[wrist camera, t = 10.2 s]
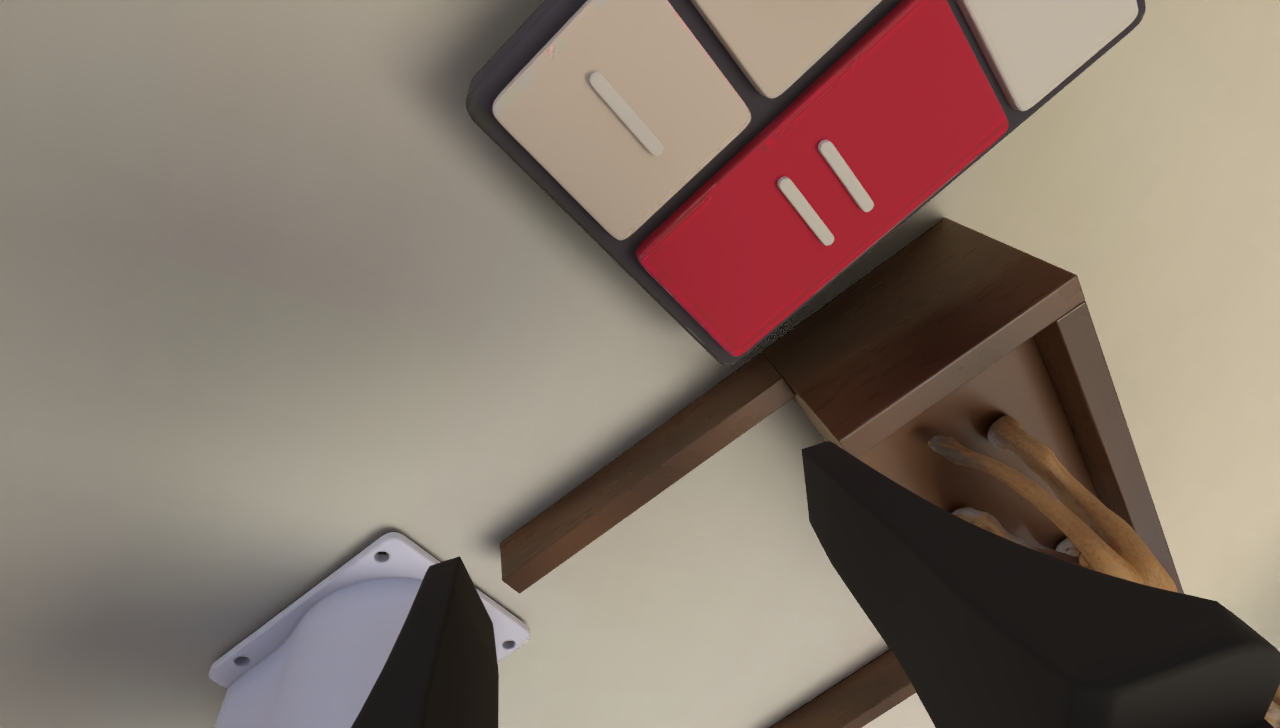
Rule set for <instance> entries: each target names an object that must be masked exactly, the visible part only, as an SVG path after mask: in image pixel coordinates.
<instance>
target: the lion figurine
mask: <svg viewBox="0 0 1280 728" xmlns="http://www.w3.org/2000/svg"><path fill="white" fill-rule="evenodd" d="M988 440H989V441H990V443H991V444H992V445H993V446H994V447H996V448H997V449H999V450H1001V451H1007V450H1011V451H1012V452H1014V453H1015V454H1016V455H1017V456H1018V457H1019V458H1020V459H1021V460H1022V461H1023V462H1024V464H1025V465H1026V466H1027V467H1028V468H1029V469H1030V470H1032V471H1033V472H1034V473H1036V474H1037V475H1038V476H1039V477H1040V478H1041V479H1042V480H1043V481H1044V482H1045V483H1046V484H1047V485H1048V486H1049V487H1050V488H1051V489H1052V490H1053V492H1054V493H1055V495H1056V497H1057V498H1058V500H1059V501H1058V500H1057V499H1056V498H1055V497H1054V496H1052V495H1051V494H1050V493H1048V492H1047V491H1046V490H1045V489H1043V488H1042V487H1041V486H1039V485H1038V484H1037V483H1036V482H1034V481H1033V480H1031V479H1030V478H1028V477H1027V476H1025V475H1024V474H1022V473H1020V472H1019V471H1017V470H1015V469H1013V468H1011V467H1009V466H1007V465H1005V464H1003V463H1001V462H999V461H997V460H995V459H993V458H990V457H988V456H986V455H983V454H980V453H977V452H975V451H972V450H970V449H968V448H966V447H964V446H963V445H961V444H960V443H959V442H958V441H956V440H955V439H954V438H953V437H944V436H941V435H937V436H933V437H932V438H930V440H929V441H928V446H929V447H930V448H931V449H932V450H933V451H934V452H936V453H938V454H940V455H942V456H943V457H945V458H946V459H948V460H949V461H951V462H952V463H954V464H958V465H965V466H968V467H971V468H975V469H978V470H980V471H982V472H985V473H987V474H989V475H991V476H993V477H995V478H997V479H998V480H1000V481H1002V482H1003V483H1005V484H1006V485H1008V486H1009V487H1011V488H1012V489H1013V490H1015V491H1016V492H1017V493H1019V494H1020V495H1021V496H1023V497H1024V498H1025V499H1026V500H1028V501H1029V502H1030V503H1032V504H1033V505H1034V506H1035V507H1036V508H1037V509H1038V510H1040V511H1041V512H1042V513H1043V514H1044V515H1045V516H1047V517H1048V518H1049V519H1050V520H1051V521H1052V522H1053V523H1054V524H1055V525H1056V526H1057V527H1058V528H1059V529H1060V530H1061V531H1062V532H1063V533H1064V534H1065V535H1066V536H1067V538H1066V539H1064V540H1063V541H1062V542H1061V543H1059V544H1058V545H1057V547H1056V551H1055V550H1052V549H1046V548H1042V547H1038V546H1035V545H1032V544H1030V543H1028V542H1027V541H1025V540H1023V539H1020V538H1018V537H1015V536H1013V535H1011V534H1009V533H1008V532H1007V531H1006V530H1005V529H1004V528H1003V527H1002V526H1001V524H1000V522H999V521H998V520H997V519H996V518H995V517H994V516H993V515H991V514H989V513H987V512H982V511H979V510H975V509H974V508H971V507H965V508H960V509H957V510H955V511H954V512H953V513H951V514H953V515H955V516H957V517H959V518H961V519H963V520H965V521H967V522H969V523H972V524H974V525H976V526H978V527H980V528H982V529H985V530H987V531H989V532H992V533H994V534H996V535H999V536H1001V537H1003V538H1006V539H1008V540H1010V541H1013V542H1015V543H1017V544H1020V545H1023V546H1025V547H1028V548H1030V549H1033V550H1035V551H1038V552H1041V553H1044V554H1047V555H1050V556H1052V557H1055V558H1058V559H1061V560H1064V561H1066V562H1069V563H1072V564H1075V565H1078V566H1082V567H1085V568H1088V569H1091V570H1094V571H1097V572H1101V573H1104V574H1108V575H1111V576H1115V577H1118V578H1122V579H1125V580H1129V581H1132V582H1136V583H1139V584H1143V585H1147V586H1151V587H1156V588H1160V589H1164V590H1169V591H1173V592H1177V593H1178V590H1177V587H1176V585H1175V583H1174V581H1173V580H1172V578H1171V577H1170V576H1169V574H1168V573H1167V572H1166V570H1165V569H1164V568H1163V567H1162V565H1161V564H1160V563H1159V561H1158V560H1157V559H1156V557H1155V556H1154V555H1153V553H1152V552H1151V551H1150V549H1149V548H1148V547H1147V546H1146V544H1145V543H1144V542H1143V541H1142V540H1141V538H1140V537H1139V536H1138V535H1137V533H1136V532H1135V531H1134V530H1133V529H1132V527H1131V526H1130V525H1129V524H1128V523H1127V522H1126V521H1125V520H1123V519H1122V518H1121V517H1120V516H1118V515H1117V514H1115V513H1114V512H1112V511H1111V510H1110V509H1108V508H1107V507H1106V506H1105V505H1104V504H1103V503H1102V502H1100V501H1099V500H1098V499H1097V498H1096V497H1095V496H1094V495H1093V494H1092V493H1091V492H1089V491H1088V490H1087V489H1086V488H1085V487H1084V486H1083V485H1082V484H1081V483H1079V482H1078V481H1077V480H1076V479H1075V478H1074V477H1073V476H1072V475H1071V474H1070V473H1069V472H1068V471H1067V470H1066V469H1065V467H1064V466H1063V465H1062V464H1061V463H1060V462H1059V461H1058V459H1057V458H1056V456H1055V454H1054V453H1053V451H1052V450H1051V449H1049V448H1048V447H1047V446H1046V445H1044V444H1043V443H1041V442H1039V441H1037V440H1036V439H1034V438H1032V437H1031V436H1030V435H1028V434H1027V433H1026V432H1025V431H1024V430H1023V427H1022V425H1021V424H1020V423H1019V422H1018V421H1017V420H1015V419H1014V418H1013V417H1011V416H1003V417H1001V418H999V419H998V420H997V421H996V422H994V423H993V424H992V425H991V427H990V428H989V431H988ZM1264 719H1265V720H1266V721H1268V722H1269V723H1270V724H1271V725H1272V726H1273V727H1274V728H1280V685H1279V687H1278V689H1277V692H1276V694H1275V696H1274V698H1273V700H1272V702H1271V705H1270V707H1269V709H1268V711H1267V713H1266V715H1265V718H1264Z"/></svg>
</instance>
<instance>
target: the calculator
mask: <svg viewBox="0 0 1280 728" xmlns="http://www.w3.org/2000/svg"><path fill="white" fill-rule="evenodd" d="M1144 13H1145V1H1144V0H545V1H544V2H543V3H542V4H541V5H540V6H539V7H538V9H537V10H536V11H535V12H534V13H533V14H532V15H531V16H530V17H529V18H528V19H527V20H526V22H525V23H524V24H523V25H522V26H521V27H520V28H519V29H518V30H517V31H516V32H515V33H514V34H513V36H512V37H511V38H510V39H509V40H508V41H507V42H506V43H505V44H504V45H503V46H502V47H501V49H500V50H499V51H498V52H497V53H496V54H495V55H494V56H493V57H492V58H491V59H490V60H489V61H488V63H487V64H486V65H485V66H484V67H483V68H482V69H481V70H480V71H479V72H478V73H477V75H476V76H475V77H474V78H473V80H472V82H471V84H470V87H469V91H468V94H467V98H466V108H467V111H468V114H469V115H470V117H471V118H472V119H473V121H474V122H475V123H476V124H477V125H478V126H479V127H480V128H481V129H482V130H483V131H484V132H485V133H486V134H487V135H488V136H489V137H490V138H491V139H492V140H493V141H494V142H495V143H496V144H497V145H498V146H499V147H500V148H502V149H503V150H504V151H505V152H506V153H507V154H508V155H509V156H510V157H511V158H512V159H513V160H514V161H515V162H516V163H517V164H518V165H519V166H520V167H521V168H522V169H523V170H524V171H525V172H526V173H527V174H528V175H529V176H530V177H531V178H532V179H533V180H534V181H535V182H536V183H537V184H538V185H539V186H540V187H541V188H542V189H543V190H544V191H545V192H546V193H547V194H548V195H549V196H550V197H551V198H552V199H553V200H554V201H555V202H556V203H557V204H558V205H559V206H560V207H561V208H562V209H563V210H564V211H565V212H566V213H568V214H569V215H570V216H571V217H572V218H573V219H574V220H575V221H576V222H577V223H578V224H579V225H580V226H581V227H582V228H583V229H584V230H585V231H586V232H587V233H588V234H589V235H590V236H591V237H592V238H593V239H594V240H595V241H596V242H597V243H598V244H599V245H600V246H601V247H602V248H603V249H604V250H605V251H606V252H607V253H608V254H609V255H610V256H611V257H612V258H613V259H614V260H615V261H616V262H617V263H618V264H619V265H620V266H621V267H622V268H623V269H624V270H625V271H626V272H627V273H628V274H629V275H630V276H631V277H633V278H634V279H635V280H636V281H637V282H638V283H639V284H640V285H641V286H642V287H643V288H644V289H645V290H646V291H647V292H648V293H649V294H650V295H651V296H652V297H653V298H654V299H655V300H656V301H657V302H658V303H659V304H660V305H661V306H662V307H663V308H664V309H665V310H666V311H667V312H668V313H669V314H670V315H671V316H672V317H673V318H674V319H675V320H676V321H677V322H678V323H679V324H680V325H681V326H682V327H683V328H684V329H685V330H686V331H687V332H688V333H689V334H690V335H691V336H692V337H693V338H694V339H695V340H696V341H698V342H699V343H700V344H701V345H702V346H703V347H704V348H705V349H706V350H707V351H708V352H709V353H710V354H711V355H712V356H713V357H714V358H715V359H716V360H717V361H718V362H719V363H721V364H724V365H732V364H734V363H736V362H738V361H739V360H740V359H742V358H743V357H744V356H745V355H746V354H748V353H749V352H750V351H751V350H752V349H754V348H755V347H756V346H757V345H758V344H760V343H761V342H762V341H763V340H764V339H766V338H767V337H768V336H769V335H770V334H771V333H773V332H774V331H775V330H776V329H777V328H779V327H780V326H781V325H782V324H783V323H785V322H786V321H787V320H788V319H789V318H790V317H792V316H793V315H794V314H795V313H796V312H798V311H799V310H800V309H801V308H802V307H804V306H805V305H806V304H807V303H808V302H810V301H811V300H812V299H813V298H814V297H815V296H817V295H818V294H819V293H820V292H821V291H823V290H824V289H825V288H826V287H827V286H829V285H830V284H831V283H832V282H833V281H835V280H836V279H837V278H838V277H839V276H840V275H842V274H843V273H844V272H845V271H846V270H848V269H849V268H850V267H851V266H852V265H854V264H855V263H856V262H857V261H858V260H859V259H861V258H862V257H863V256H864V255H865V254H867V253H868V252H869V251H870V250H871V249H873V248H874V247H875V246H876V245H877V244H879V243H880V242H881V241H882V240H883V239H884V238H886V237H887V236H888V235H889V234H890V233H892V232H893V231H894V230H895V229H896V228H898V227H899V226H900V225H901V224H902V223H904V222H905V221H906V220H907V219H908V218H909V217H911V216H912V215H913V214H914V213H915V212H917V211H918V210H919V209H920V208H921V207H923V206H924V205H925V204H926V203H927V202H928V201H930V200H931V199H932V198H933V197H934V196H936V195H937V194H938V193H939V192H940V191H942V190H943V189H944V188H945V187H946V186H948V185H949V184H950V183H951V182H952V181H953V180H955V179H956V178H957V177H958V176H959V175H961V174H962V173H963V172H964V171H965V170H967V169H968V168H969V167H970V166H971V165H973V164H974V163H975V162H976V161H977V160H978V159H980V158H981V157H982V156H983V155H984V154H986V153H987V152H988V151H989V150H990V149H992V148H993V147H994V146H995V145H996V144H997V143H999V142H1000V141H1001V140H1002V139H1003V138H1005V137H1006V136H1007V135H1008V134H1009V133H1011V132H1012V131H1013V130H1014V129H1015V128H1017V127H1018V126H1019V125H1020V124H1021V123H1022V122H1024V121H1025V120H1026V119H1027V118H1028V117H1030V116H1031V115H1032V114H1033V113H1034V112H1036V111H1037V110H1038V109H1039V108H1040V107H1042V106H1043V105H1044V104H1045V103H1046V102H1047V101H1049V100H1050V99H1051V98H1052V97H1053V96H1055V95H1056V94H1057V93H1058V92H1059V91H1061V90H1062V89H1063V88H1064V87H1065V86H1066V85H1068V84H1069V83H1070V82H1071V81H1072V80H1074V79H1075V78H1076V77H1077V76H1078V75H1080V74H1081V73H1082V72H1083V71H1084V70H1086V69H1087V68H1088V67H1089V66H1090V65H1091V64H1093V63H1094V62H1095V61H1096V60H1097V59H1099V58H1100V57H1101V56H1102V55H1103V54H1105V53H1106V52H1107V51H1108V50H1109V49H1111V48H1112V47H1113V46H1114V45H1115V44H1116V43H1118V42H1119V41H1120V40H1121V39H1122V38H1124V37H1125V36H1126V35H1127V34H1128V33H1129V32H1131V31H1132V30H1133V29H1134V28H1135V27H1136V26H1137V25H1138V24H1139V23H1140V21H1141V20H1142V18H1143V16H1144Z"/></svg>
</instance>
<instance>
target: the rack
mask: <svg viewBox="0 0 1280 728" xmlns="http://www.w3.org/2000/svg"><path fill="white" fill-rule="evenodd" d="M1084 300H1085V298H1084V295H1083V292H1082V289H1081V286H1080V283H1079V280H1078V277H1077V275H1075V274H1073V273H1071V272H1068V271H1066V270H1064V269H1061V268H1059V267H1057V266H1055V265H1052V264H1050V263H1048V262H1045V261H1043V260H1041V259H1039V258H1036V257H1034V256H1032V255H1029V254H1027V253H1025V252H1023V251H1020V250H1018V249H1016V248H1013V247H1011V246H1009V245H1006V244H1004V243H1002V242H1000V241H997V240H995V239H993V238H990V237H988V236H986V235H984V234H981V233H979V232H977V231H974V230H972V229H970V228H968V227H965V226H963V225H961V224H958V223H956V222H954V221H952V220H949V219H947V218H945V219H944V220H942V221H941V222H939V223H938V224H937V225H935V226H934V227H933V228H931V229H930V230H929V231H927V232H926V233H924V234H923V235H922V236H920V237H919V238H918V239H916V240H915V241H913V242H912V243H911V244H909V245H908V246H907V247H905V248H904V249H902V250H901V251H900V252H898V253H897V254H896V255H894V256H893V257H892V258H890V259H889V260H887V261H886V262H885V263H883V264H882V265H881V266H879V267H878V268H876V269H875V270H874V271H872V272H871V273H870V274H868V275H867V276H866V277H864V278H863V279H861V280H860V281H859V282H857V283H856V284H855V285H853V286H852V287H850V288H849V289H848V290H846V291H845V292H844V293H842V294H841V295H840V296H838V297H837V298H835V299H834V300H833V301H831V302H830V303H829V304H827V305H826V306H824V307H823V308H822V309H820V310H819V311H818V312H816V313H815V314H814V315H812V316H811V317H809V318H808V319H807V320H805V321H804V322H803V323H801V324H800V325H798V326H797V327H796V328H794V329H793V330H792V331H790V332H789V333H787V334H786V335H785V336H783V337H782V338H781V339H779V340H778V341H777V342H775V343H774V344H772V345H771V346H770V347H768V348H767V349H766V350H764V351H763V353H760V354H759V355H757V356H756V357H755V358H753V359H752V360H751V361H749V362H748V363H746V364H745V365H744V366H742V367H741V368H740V369H738V370H737V371H735V372H734V373H733V374H731V375H730V376H729V377H727V378H726V379H724V380H723V381H722V382H720V383H719V384H718V385H716V386H715V387H714V388H712V389H711V390H709V391H708V392H707V393H705V394H704V395H703V396H701V397H700V398H698V399H697V400H696V401H694V402H693V403H692V404H690V405H689V406H688V407H686V408H685V409H683V410H682V411H681V412H679V413H678V414H677V415H675V416H674V417H672V418H671V419H670V420H668V421H667V422H666V423H664V424H663V425H662V426H660V427H659V428H657V429H656V430H655V431H653V432H652V433H651V434H649V435H648V436H646V437H645V438H644V439H642V440H641V441H640V442H638V443H637V444H636V445H634V446H633V447H631V448H630V449H629V450H627V451H626V452H625V453H623V454H622V455H620V456H619V457H618V458H616V459H615V460H614V461H612V462H611V463H609V464H608V465H607V466H605V467H604V468H603V469H601V470H600V471H599V472H597V473H596V474H594V475H593V476H592V477H590V478H589V479H588V480H586V481H585V482H583V483H582V484H581V485H579V486H578V487H577V488H575V489H574V490H573V491H571V492H570V493H568V494H567V495H566V496H564V497H563V498H562V499H560V500H559V501H557V502H556V503H555V504H553V505H552V506H551V507H549V508H548V509H547V510H545V511H544V512H542V513H541V514H540V515H538V516H537V517H536V518H534V519H533V520H531V521H530V522H529V523H527V524H526V525H525V526H523V527H522V528H521V529H519V530H518V531H516V532H515V533H514V534H512V535H511V536H510V537H508V538H507V539H505V540H504V541H503V542H501V543H500V549H501V568H502V581H504V582H505V583H506V584H508V585H509V586H510V587H511V588H513V589H514V590H515V591H517V592H518V593H521V592H523V591H524V590H525V589H527V588H528V587H530V586H531V585H532V584H534V583H535V582H537V581H538V580H539V579H541V578H542V577H544V576H545V575H546V574H548V573H549V572H551V571H552V570H553V569H555V568H556V567H557V566H559V565H560V564H562V563H563V562H564V561H566V560H567V559H569V558H570V557H571V556H573V555H574V554H576V553H577V552H578V551H580V550H581V549H583V548H584V547H585V546H587V545H588V544H590V543H591V542H592V541H594V540H595V539H597V538H598V537H599V536H601V535H602V534H604V533H605V532H606V531H608V530H609V529H611V528H612V527H613V526H615V525H616V524H618V523H619V522H620V521H622V520H623V519H624V518H626V517H627V516H629V515H630V514H631V513H633V512H634V511H636V510H637V509H638V508H640V507H641V506H643V505H644V504H645V503H647V502H648V501H650V500H651V499H652V498H654V497H655V496H657V495H658V494H659V493H661V492H662V491H664V490H665V489H666V488H668V487H669V486H671V485H672V484H673V483H675V482H676V481H678V480H679V479H680V478H682V477H683V476H685V475H686V474H687V473H689V472H690V471H691V470H693V469H694V468H696V467H697V466H698V465H700V464H701V463H703V462H704V461H705V460H707V459H708V458H710V457H711V456H712V455H714V454H715V453H717V452H718V451H719V450H721V449H722V448H724V447H725V446H726V445H728V444H729V443H731V442H732V441H733V440H735V439H736V438H738V437H739V436H740V435H742V434H743V433H745V432H746V431H747V430H749V429H750V428H752V427H753V426H754V425H756V424H757V423H758V422H760V421H761V420H763V419H764V418H765V417H767V416H768V415H770V414H771V413H772V412H774V411H775V410H777V409H778V408H779V407H781V406H782V405H784V404H785V403H786V402H788V401H789V400H791V399H792V398H793V397H794V398H795V399H796V401H797V402H798V404H799V405H800V406H801V408H802V409H803V411H804V412H805V413H806V415H807V416H808V418H809V419H810V421H811V422H812V423H813V425H814V426H815V428H816V429H817V430H818V432H819V433H820V435H821V436H822V437H823V439H824V440H825V442H827V441H831V442H833V443H834V444H836V445H838V446H839V447H841V448H842V449H844V450H845V451H847V452H848V453H850V454H851V455H853V456H855V457H856V458H858V459H859V460H861V461H862V462H864V463H865V464H867V465H869V466H870V467H872V468H873V469H875V470H877V471H878V472H880V473H881V474H883V475H884V476H886V477H888V478H889V479H891V480H893V481H894V482H896V483H898V484H899V485H901V486H903V487H905V488H906V489H908V490H910V491H911V492H913V493H915V494H917V495H918V496H920V497H922V498H923V499H925V500H927V501H929V502H931V503H933V504H934V505H936V506H938V507H940V508H942V509H944V510H946V511H948V512H950V513H953V512H954V511H955V510H957V509H960V508H965V507H971V508H974V509H975V510H979V511H982V512H987V513H989V514H991V515H993V516H994V517H995V518H996V519H997V520H998V521H999V522H1000V524H1001V526H1002V527H1003V528H1004V529H1005V530H1006V531H1007V532H1008V533H1009V534H1011V535H1013V536H1015V537H1018V538H1020V539H1023V540H1025V541H1027V542H1028V543H1030V544H1032V545H1035V546H1038V547H1042V548H1046V549H1052V550H1055V551H1056V547H1057V545H1058V544H1059V543H1061V542H1062V541H1063V540H1064V539H1066V538H1067V536H1066V535H1065V534H1064V533H1063V532H1062V531H1061V530H1060V529H1059V528H1058V527H1057V526H1056V525H1055V524H1054V523H1053V522H1052V521H1051V520H1050V519H1049V518H1048V517H1047V516H1045V515H1044V514H1043V513H1042V512H1041V511H1040V510H1038V509H1037V508H1036V507H1035V506H1034V505H1033V504H1032V503H1030V502H1029V501H1028V500H1026V499H1025V498H1024V497H1023V496H1021V495H1020V494H1019V493H1017V492H1016V491H1015V490H1013V489H1012V488H1011V487H1009V486H1008V485H1006V484H1005V483H1003V482H1002V481H1000V480H998V479H997V478H995V477H993V476H991V475H989V474H987V473H985V472H982V471H980V470H978V469H975V468H971V467H968V466H965V465H958V464H954V463H952V462H951V461H949V460H948V459H946V458H945V457H943V456H942V455H940V454H938V453H936V452H934V451H933V450H932V449H931V448H930V447H929V446H928V441H929V440H930V438H932V437H933V436H937V435H941V436H944V437H953V438H954V439H955V440H956V441H958V442H959V443H960V444H961V445H963V446H964V447H966V448H968V449H970V450H972V451H975V452H977V453H980V454H983V455H986V456H988V457H990V458H993V459H995V460H997V461H999V462H1001V463H1003V464H1005V465H1007V466H1009V467H1011V468H1013V469H1015V470H1017V471H1019V472H1020V473H1022V474H1024V475H1025V476H1027V477H1028V478H1030V479H1031V480H1033V481H1034V482H1036V483H1037V484H1038V485H1039V486H1041V487H1042V488H1043V489H1045V490H1046V491H1047V492H1048V493H1050V494H1051V495H1052V496H1054V497H1055V498H1056V499H1057V500H1058V498H1057V497H1056V495H1055V493H1054V492H1053V490H1052V489H1051V488H1050V487H1049V486H1048V485H1047V484H1046V483H1045V482H1044V481H1043V480H1042V479H1041V478H1040V477H1039V476H1038V475H1037V474H1036V473H1034V472H1033V471H1032V470H1030V469H1029V468H1028V467H1027V466H1026V465H1025V464H1024V462H1023V461H1022V460H1021V459H1020V458H1019V457H1018V456H1017V455H1016V454H1015V453H1014V452H1012V451H1011V450H1007V451H1001V450H999V449H997V448H996V447H994V446H993V445H992V444H991V443H990V441H989V440H988V431H989V428H990V427H991V425H992V424H993V423H994V422H996V421H997V420H998V419H999V418H1001V417H1003V416H1011V417H1013V418H1014V419H1015V420H1017V421H1018V422H1019V423H1020V424H1021V425H1022V427H1023V430H1024V431H1025V432H1026V433H1027V434H1028V435H1030V436H1031V437H1032V438H1034V439H1036V440H1037V441H1039V442H1041V443H1043V444H1044V445H1046V446H1047V447H1048V448H1049V449H1051V450H1052V451H1053V453H1054V454H1055V456H1056V458H1057V459H1058V461H1059V462H1060V463H1061V464H1062V465H1063V466H1064V467H1065V469H1066V470H1067V471H1068V472H1069V473H1070V474H1071V475H1072V476H1073V477H1074V478H1075V479H1076V480H1077V481H1078V482H1079V483H1081V484H1082V485H1083V486H1084V487H1085V488H1086V489H1087V490H1088V491H1089V492H1091V493H1092V494H1093V495H1094V496H1095V497H1096V498H1097V499H1098V500H1099V501H1100V502H1102V503H1103V504H1104V505H1105V506H1106V507H1107V508H1108V509H1110V510H1111V511H1112V512H1114V513H1115V514H1117V515H1118V516H1120V517H1121V518H1122V519H1123V520H1125V521H1126V522H1127V523H1128V524H1129V525H1130V526H1131V527H1132V529H1133V530H1134V531H1135V532H1136V533H1137V535H1138V536H1139V537H1140V538H1141V540H1142V541H1143V542H1144V543H1145V544H1146V546H1147V547H1148V548H1149V549H1150V551H1151V552H1152V553H1153V555H1154V556H1155V557H1156V559H1157V560H1158V561H1159V563H1160V564H1161V565H1162V567H1163V568H1164V569H1165V570H1166V572H1167V573H1168V574H1169V576H1170V577H1171V578H1172V580H1173V581H1174V583H1175V585H1176V587H1177V590H1178V593H1182V594H1184V593H1183V590H1182V587H1181V584H1180V581H1179V578H1178V575H1177V572H1176V569H1175V566H1174V563H1173V560H1172V557H1171V554H1170V551H1169V548H1168V545H1167V542H1166V539H1165V536H1164V533H1163V530H1162V527H1161V524H1160V521H1159V518H1158V515H1157V512H1156V509H1155V506H1154V503H1153V500H1152V497H1151V495H1150V492H1149V489H1148V486H1147V483H1146V480H1145V477H1144V474H1143V471H1142V468H1141V465H1140V462H1139V459H1138V456H1137V453H1136V450H1135V447H1134V444H1133V441H1132V438H1131V435H1130V432H1129V429H1128V426H1127V423H1126V420H1125V417H1124V414H1123V411H1122V408H1121V405H1120V402H1119V399H1118V396H1117V393H1116V391H1115V388H1114V385H1113V382H1112V379H1111V376H1110V373H1109V370H1108V367H1107V364H1106V361H1105V358H1104V355H1103V352H1102V349H1101V346H1100V343H1099V340H1098V337H1097V334H1096V331H1095V328H1094V325H1093V322H1092V319H1091V316H1090V313H1089V310H1088V307H1087V304H1086V302H1085V301H1084ZM1058 501H1059V500H1058ZM915 693H916V691H915V689H914V687H913V685H912V684H911V682H910V680H909V678H908V676H907V675H906V673H905V671H904V670H903V668H902V667H901V665H900V663H899V662H898V660H897V659H896V657H895V656H894V654H893V652H892V651H891V650H889V651H888V652H886V653H885V654H883V655H881V656H880V657H878V658H877V659H875V660H874V661H872V662H871V663H869V664H868V665H866V666H865V667H863V668H862V669H860V670H858V671H857V672H855V673H854V674H852V675H851V676H849V677H848V678H846V679H845V680H843V681H842V682H840V683H838V684H837V685H835V686H834V687H832V688H831V689H829V690H828V691H826V692H825V693H823V694H822V695H820V696H819V697H817V698H815V699H814V700H812V701H811V702H809V703H808V704H806V705H805V706H803V707H802V708H800V709H799V710H797V711H796V712H794V713H792V714H791V715H789V716H788V717H786V718H785V719H783V720H782V721H780V722H779V723H777V724H776V725H774V726H772V727H771V728H861V727H863V726H864V725H866V724H868V723H869V722H871V721H872V720H874V719H875V718H877V717H879V716H880V715H882V714H883V713H885V712H886V711H888V710H890V709H891V708H893V707H894V706H896V705H897V704H899V703H900V702H902V701H904V700H905V699H907V698H908V697H910V696H911V695H913V694H915Z"/></svg>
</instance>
